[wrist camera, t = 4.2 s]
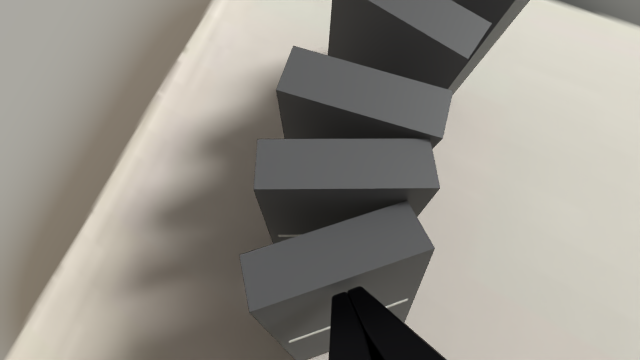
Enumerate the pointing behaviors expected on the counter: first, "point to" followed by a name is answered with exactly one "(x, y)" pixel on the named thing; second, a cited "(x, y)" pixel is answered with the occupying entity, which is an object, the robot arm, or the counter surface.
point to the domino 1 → (406, 37)
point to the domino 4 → (335, 274)
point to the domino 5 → (499, 9)
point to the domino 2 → (356, 101)
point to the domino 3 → (339, 180)
